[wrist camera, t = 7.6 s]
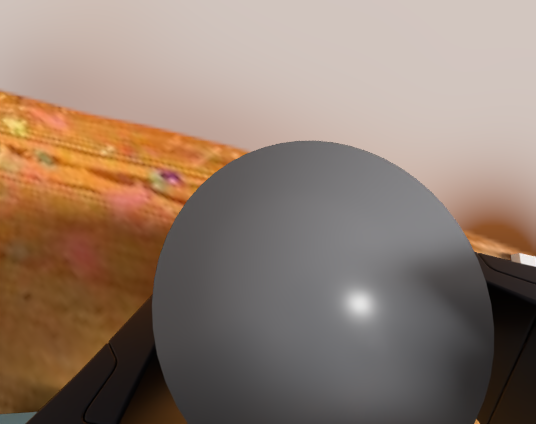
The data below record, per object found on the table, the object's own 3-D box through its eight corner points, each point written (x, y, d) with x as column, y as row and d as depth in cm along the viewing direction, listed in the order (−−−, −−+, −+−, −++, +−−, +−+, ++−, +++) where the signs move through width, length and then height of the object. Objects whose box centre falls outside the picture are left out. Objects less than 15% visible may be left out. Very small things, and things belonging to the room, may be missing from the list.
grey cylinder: (254, 381, 13) (259, 645, 3) (206, 281, 15) (99, 217, 4) (342, 320, 14) (570, 349, 4) (290, 235, 16) (357, 102, 6)
